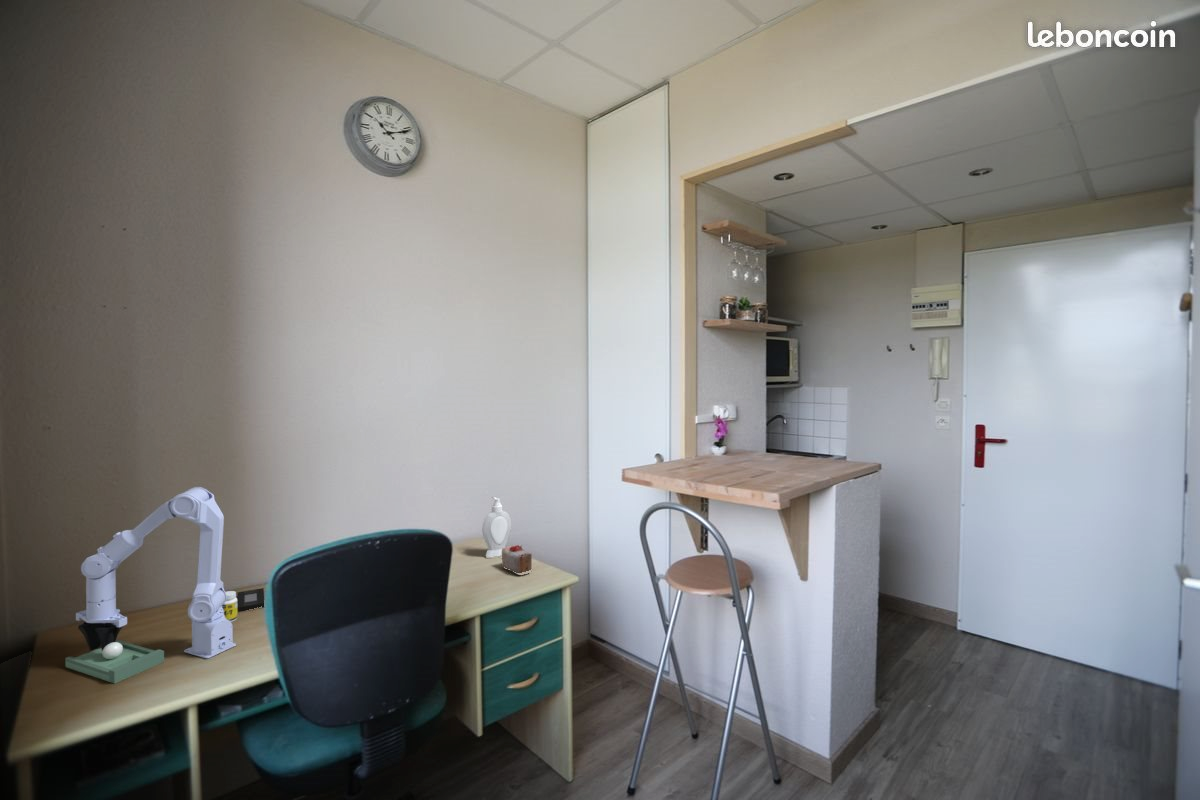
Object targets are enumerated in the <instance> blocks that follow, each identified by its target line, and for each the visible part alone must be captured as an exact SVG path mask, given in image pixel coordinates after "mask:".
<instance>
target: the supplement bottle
mask: <svg viewBox="0 0 1200 800" xmlns="http://www.w3.org/2000/svg"><path fill="white" fill-rule="evenodd" d="M225 592H226V596H227V598H226V601H225V603H224V604H223V605H222V608H223V610H224V616H225V618H226V619H227V620H229V621H230V622H231V623H233V622H235V621H237V620H238V612H237V594H236V593H237V592H236V591H234V590H229V591H225Z"/></svg>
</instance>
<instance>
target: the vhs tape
mask: <svg viewBox="0 0 1200 800" xmlns="http://www.w3.org/2000/svg"><path fill="white" fill-rule="evenodd" d="M264 589H265V588H264V587H263V588H261V587H260V588H256V589H255V588H254V589H250V590H244V591H238V592H236V593H237V594H236V598H237V613H241V612H247V611H246V610H248V611H250V610H249V609H253V610H255V609H254V608H257V607H258V608H259V607H261V606H262V608H261V609H263V608H265V607H264V600H265V591H264ZM259 609H260V608H259Z"/></svg>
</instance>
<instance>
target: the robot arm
mask: <svg viewBox="0 0 1200 800" xmlns="http://www.w3.org/2000/svg"><path fill="white" fill-rule="evenodd" d="M177 517H179V518H182V519H185V520H188V521H190V522H193V523H194V524H196V525H197V526H199V530H200V531H199V533H200V534H199V545H198V563H197V564H198V566H197V576H196V577H197V578H196V586H195V589H194V591H193V593H192V599H191V602H190V603H189V606H188V608H187V615H188V617H189V618H190V619H191V647H188V648H186V649H184V650H183V651H184V652H183V653H186V654H190V655H194V656H197V657H200V658H204V659H210V658H212V657H214V656H217V655H218V654H221V653H222V652H225V651H227V650H229V649H232V648H234V647H236V645H237V644H236V643H235V642H234V636H233V635H234V633H233V631H234V629H233V628H234V625H233V622H230V621H229V620H227V619H226V618H225V616H224V610H223V608H222V605H223V604H224V603H225V601H226V598H227V596H226V592H227V591H225V588H224V582H223V581H222V580H221V576H222V575H221V574H222V573H221V571H222V569H221V568H222V558H223V557H222V555H223V539H224V525H225V523H224V522H225V517H224V514H223V512H222V510H221V508H220V507H219V505H218V504H217V501H216V500H215V495H214V494H213V493H212V492H210V491H209V490H208V489H206V488H204V487H201V486H195V487H191V488H189V489H188V490H186V491H184V492H182V493H179V494H177V495H175V496H174V497H173V498H172V499H169V500H168V501H166V502H165V503H163V504H162V505H160V506H158V508H156V509H155V510H154V511H153V512H152V513H150V515H148V516H147V517H145V519H144V520H142V522H140V523H139V524H138V525H137V526H136V527H134V528H133V529H126V530H122V531H118V532H116V533H115V534H114V535H113V536H112V538H113V539H112V540H110V541H108V543H107V544H105V545H104V546H100V547H99V548H97V550H96V551H97V553H96V554H93V555H91V556H88V557H86V559H85V560H84V561H83V562H82V563H81V565H80V571H81V574H82V575H83V576H84V577H85V579H86V580H85V583H86V584H85V585H86V586H85V594H86V595H85V597H86V599H85V602H86V603H85V604H86V606H85V610H80V611H79V612H76V613H75V621H79V622H80V621H84V622H83V623H81V624H79V625H77V629H78V630H79V631H80V632H81V633H82V635H83V637H84V638H85V640H86V643H87V646H88V649H89V650H90V652H91V651H94V650H97V649H99V648H102V651H103V649H104V647H105V646H106V645H108V644H110V643H113V642H115V641H116V639H117V638H118V635H119V634H120V632H121V629H122V628H123V627H124V626H127V625H128V616H124V615H123V614H121V609H119V608H117V602H116V601H117V594H116V593H117V580H116V579H117V577H116V576H117V572H116V570H117V569H118V568H119V566H120V565H121V563H122V562H124V561H125V560H126V559H127V558H128V557H130V556H131V555H132V554H133V553H134V552H136V551H137V550H138V549H140V548H141V547H142V546H143V544H144V538H145V537H146V536H147V535H148V534H150V533H151V532H153V531H154V530H155V529H156V528H158V527H159V526H161V525H162V524H163V523H164V522H166V521H167V520H168V519H169V520H171V519H174V518H177Z"/></svg>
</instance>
